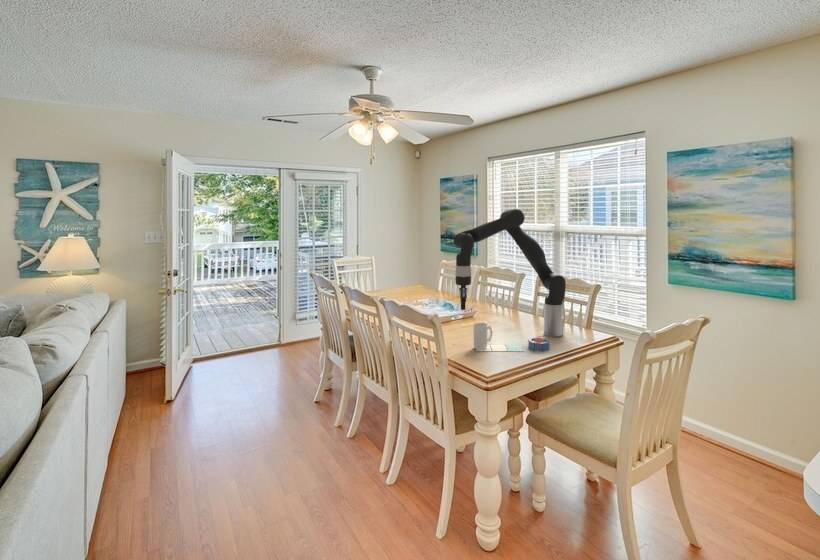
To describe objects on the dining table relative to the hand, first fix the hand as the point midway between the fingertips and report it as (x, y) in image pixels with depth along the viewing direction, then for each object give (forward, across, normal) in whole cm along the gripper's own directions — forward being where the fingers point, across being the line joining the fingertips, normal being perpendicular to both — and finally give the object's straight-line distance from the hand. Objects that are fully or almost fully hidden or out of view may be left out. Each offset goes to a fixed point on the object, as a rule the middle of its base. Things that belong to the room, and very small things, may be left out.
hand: (463, 309), depth 208 cm
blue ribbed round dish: (+19, 0, +37) cm, 42 cm away
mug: (+20, 0, +10) cm, 22 cm away
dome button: (+18, 0, +37) cm, 42 cm away
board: (+19, 0, +18) cm, 26 cm away
